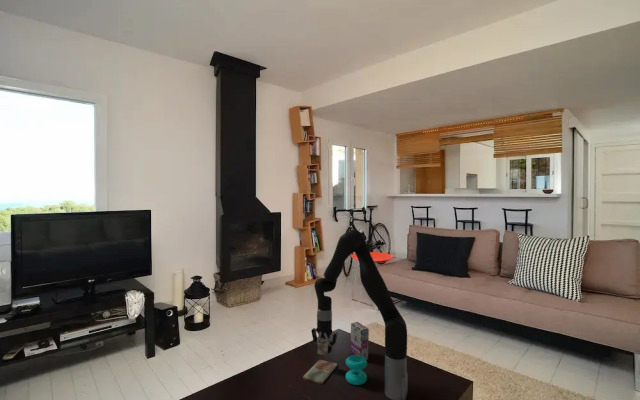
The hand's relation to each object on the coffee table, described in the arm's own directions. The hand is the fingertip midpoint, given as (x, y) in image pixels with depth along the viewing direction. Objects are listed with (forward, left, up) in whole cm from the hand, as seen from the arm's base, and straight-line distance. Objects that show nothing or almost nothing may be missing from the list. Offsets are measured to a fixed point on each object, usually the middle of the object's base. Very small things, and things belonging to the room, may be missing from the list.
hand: (324, 351), depth 160 cm
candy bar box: (-12, -20, -9) cm, 25 cm away
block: (0, 0, -1) cm, 1 cm away
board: (0, +4, -8) cm, 9 cm away
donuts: (-18, +3, -9) cm, 20 cm away
